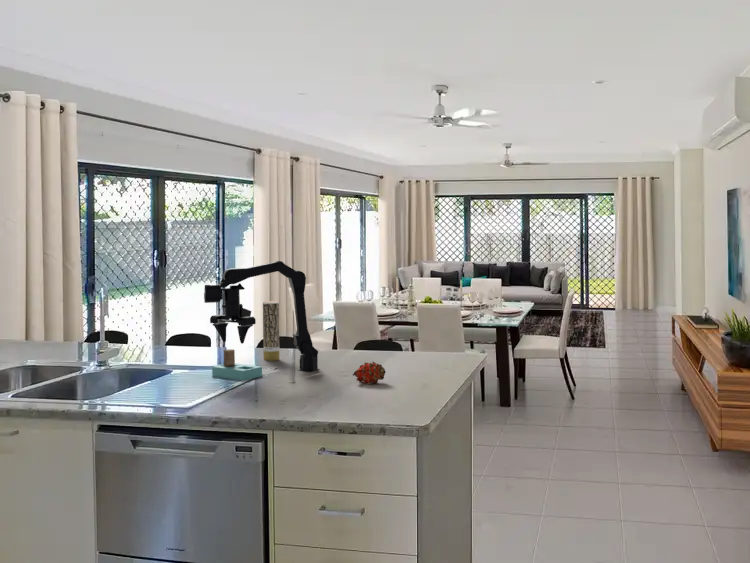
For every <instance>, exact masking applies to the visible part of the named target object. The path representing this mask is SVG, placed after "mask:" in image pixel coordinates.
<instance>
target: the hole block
mask: <svg viewBox="0 0 750 563" xmlns="http://www.w3.org/2000/svg"><path fill="white" fill-rule="evenodd" d="M211 368H212V369H211V370H212V371H211V372H212V374H211V375H212V377H216V378H224V379H231V380H237V381H247V380H252V379H255V378H259V377H262V376H263V375H262V368H263V367H262V366H259V365H251V364H241V363H236V362H235V366H234V367H224V363H223V364H219V365H215V366H212V367H211Z"/></svg>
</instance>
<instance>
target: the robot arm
mask: <svg viewBox="0 0 750 563" xmlns="http://www.w3.org/2000/svg"><path fill="white" fill-rule="evenodd" d="M277 272H278V273H279V274H281V275H283V276H284V277H285V278H287V280H288V282H289V286H290V288H291V291H292V295H293V302H294V303H293V304H294V314H295V322H296V331H295V332H296V333H294V334H293V333H292V337H293V338H292V339H293V342H292V343H293V345H294V346H295V348H296V349H297V351H300V352H299V353H300V355H299V369H297V371H300V372H307V373H308V372H309V373H312V372H315V371H320V370H321V369H320V368H318V367H319V366H318V365H319V363H318V362H319V358H318V354H319V351H318V350H317V349H316V348H315V347H314V346H313V344H314V343H313V341H312V337H311V335H310V331H309V328H308V323H307V322H308V321H307V310H306V302H305V289H306V283H307V277H306V274H305V273H304V272H303V271H300V270H296V269H294V268H292V267H290V266H289V265H287V264H286V263H284V262H283V261H280V260H276V261H273V262H268V263H264V264H260V265H255V266H250V267H243V268H242V267H240V268H239V267H237V268H235V267H234V268H228V269H226V270H225V271H224V272H223V275H222V279H220V282H219V283H218V284H204V293H203V299H204V300H203V301H204V303H205V304H208V303H209V304H210V303H221V301H222V300H224V304H222V305H221V308H223V309H224V314H216V315H215V314H214V315H211V316H210V318H209V323H210V324H212V326H213V327H214V328H215V330H216V331H217V333H218V334H219V337H220V338H221V340H222V342H223V343H226V341H227V326H228V325H229V323H233V324H235V323H236V324H237V332H238V337H239V342H240V345H241V344H244V343H245V340H246V336H247V333H248V330H250V328H251V327H254V325H256V323H257V322H256V318H255V316H251V315H252V310H249V309H247V308H244V307H243V305H244V304H242V303H241V301H240V299H241V298H240V297H241V296H240V291H241V290H242V291H243V290H245V287H244V286H243V285H242V284H241V282H243V281H245V280H246V279H250V278H253V277H259V276H262V275H266V274H271V273H272V274H273V273H277ZM227 287H228V288H227ZM223 294H224V295H223ZM223 298H224V299H223Z"/></svg>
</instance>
